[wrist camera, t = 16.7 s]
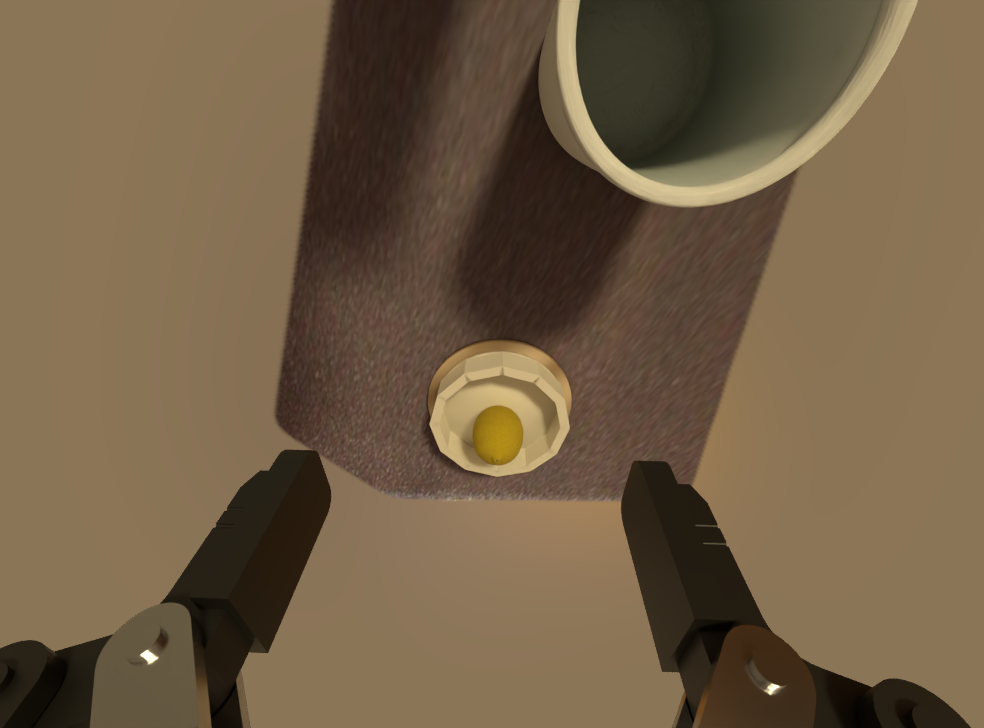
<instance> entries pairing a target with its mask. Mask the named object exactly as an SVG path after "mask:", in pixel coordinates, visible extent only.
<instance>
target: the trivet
mask: <svg viewBox="0 0 984 728" xmlns="http://www.w3.org/2000/svg"><path fill="white" fill-rule="evenodd" d="M495 350H504V351H513V352H518V353H522V354H525V355H528V356H530V357H532V358H534V359H536V360H537V361H539V362H541V363H542V364H543V365H545V366H546V367H547V368H548V369H549V370H550V371H551V372H552V373H553V374H554V376H555V378H556V379H557V381H558V382H559V383H560V384H561V387H562V391H563V395H564V399H565V404H566V410H567V415H568V417H569V414H570V410H571V401H572V400H571V391H570V387H569V383H568V380H567V378H566V375H565V373H564V372H563V370H562V369H561V367H560V366H559V365H558V363H557V362H556V361H555V360H554V359H553V358H552V357H551V356H549V355H548V354H547V353H545V352H544V351H542V350H541V349H539V348H537V347H535V346H533V345H530V344H527V343H524V342H521V341H516V340H510V339H490V340H483V341H479V342H475V343H472V344H469V345H467V346H464V347H462V348H461V349H459V350H457V351H455V352H454V353H453V354H451V355H450V356H449V357H448V358H447V359H446V360H445V361H444V362H443V363H442V364H441V365H440V366H439V368H438V369H437V371H436V372H435V374H434V376H433V378H432V381H431V384H430V388H429V393H428V408H429V413H430V416H431V415H432V411H433V407H434V403H435V399H436V396H437V392H438V389H439V385H440V381H441V380H442V379H443V378H444V377H445V375H446V374H447V373H448V371H449V370H450V369H451V368H453V367H454V366H455V365H456V364H458V363H459V362H460V361H462V360H464V359H466V358H467V357H470V356H472V355H475V354H478V353H482V352H487V351H495Z"/></svg>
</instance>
